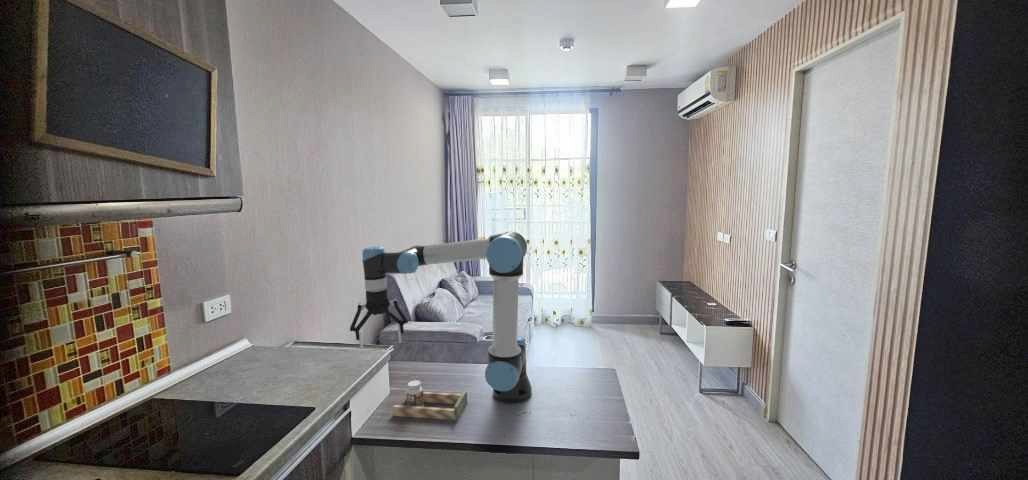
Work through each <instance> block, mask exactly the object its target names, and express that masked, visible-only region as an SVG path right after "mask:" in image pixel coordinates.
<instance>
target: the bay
mask: <svg viewBox="0 0 1028 480" xmlns="http://www.w3.org/2000/svg"><path fill="white" fill-rule="evenodd" d="M467 392H468V391H467V390H463V391H462V393H453V392H436V391H432V392H431V391H423V402H424V403H433V404H434V403H435V404H450V405H451V404H452V405H454V406H453V408H448V407H447V408H445V407H434V406H433V407H431V406H424V407H418V406H408V405H402V404H401V405H399V404H394V405H393V406H392V413H393V414H392V415H393V417H406V418H419V419H420V418H422V419H435V420H450V421H459V419H460V417H461V415H462V414H463V412H464V410H465V408H466V406H467V404H468V393H467ZM404 394H405V397H404V398H405V401H407V390H405V393H404ZM407 402H408V401H407Z"/></svg>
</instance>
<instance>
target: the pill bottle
mask: <svg viewBox="0 0 1028 480" xmlns="http://www.w3.org/2000/svg"><path fill="white" fill-rule="evenodd" d="M406 391H407V406H418V407H425V405H424V403H425V402H423V392H424V391H423V387H422V383H421V380H411V381H409V382H408V383H407V390H406Z"/></svg>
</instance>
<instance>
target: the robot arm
mask: <svg viewBox="0 0 1028 480" xmlns="http://www.w3.org/2000/svg"><path fill="white" fill-rule="evenodd" d="M527 250H528V244H527V241H526V239H525V237H524V236H523V235H522V234H520V233H519V232H516V231H506V232H502V233H498V234H491V235H489V236H488V237H487V238H478V239H472V240H461V241H455V242H445V243H437V244H428V245H413V246H411V247H409V248H407V249H404V250H401V251H398V252H385V248H384V247H383V246H369V247H365V248H363V250H362V260H361V261H362V266H363V274H364V289H365V290H366V291H365V300H366V303H361V302H360V303H358V304H357V310H356V311H355V312H356V313H355V315H354V317H353V319H352V322H351V325H350V326H349V327H350V328H349V331H350V332H354V333H355V340H356V341H359V346H360V347H359V348H360V350H363V349H364V345H363V343H364V341H363V333H362V327H363V326H364V325H365V324H366V322H367V321H368V319H369V318H370V317H371V316H372V315H374V316H376V315H383V314H386V315H387V316H389V317H390V318H391V319H392V320H394V321H395V322H396V323H397V334H398V342H399V343H398V344H402V334H404V325H405V324H408V323H409V321H408V317H407V316H406V315H405V314H404V312H403V310H402V309H401V307H400V306H399V304H398V300H397V298H394V299H393V300H389V295H388V293H389V292H388V288H387V287H388V282H387V280H388V279H387V274H401V275H402V274H403V275H404V274H405V275H407V274H414V273H416V272H417V270H418V268H419V267H420V266H421V267H422V266H430V265H437V264H447V263H448V264H449V263H457V262H467V261H469V262H470V261H476V260H477V261H478V260H486V261H487V264H488V269H489V271H488V272H489V275H490V277H491V278H492V279H493V285H492V286H493V291H492V293H493V295H492V297H493V298H492V343H491V345H490V346H488V348H487V349H488V350H487V351H488V352H487V366H486V367H485V369H484V378H485V381H486V383H487V384H488V386H489V387H491V388H492V392H493V393H492V395H493V397H494V399H495V400H497V401H499V402H500V403H501V402H502V403H506V404H517V403H521V402H524V401H526V400H528V399H529V398H530V397H531V396H532V385H531V382H530V380H529V376H528V374H527V373H528V372H527V352H526V351H527V350H526V349H527V348H526V346H527V343H526V338H525V337H523V336H522V335H518V312H519V280H520V278H521V277H522V276H524V257H526V254H527ZM390 305H391V306H392V307H394V309H395V310H396V312H397V313H398V314H399V316H400V317H399V316H397V315H396V314H395V313H394V312H393V311H391V309H390V308H389V307H390ZM364 308H365V309H366V310H367V312H366V313H365V315H364V316H363V317H362V319H361V320H360V321H359V323H358V320H359V317H360V315H361V313H362V311H363V310H364ZM400 318H401V319H400ZM357 323H358V324H357ZM356 324H357V325H356Z"/></svg>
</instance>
